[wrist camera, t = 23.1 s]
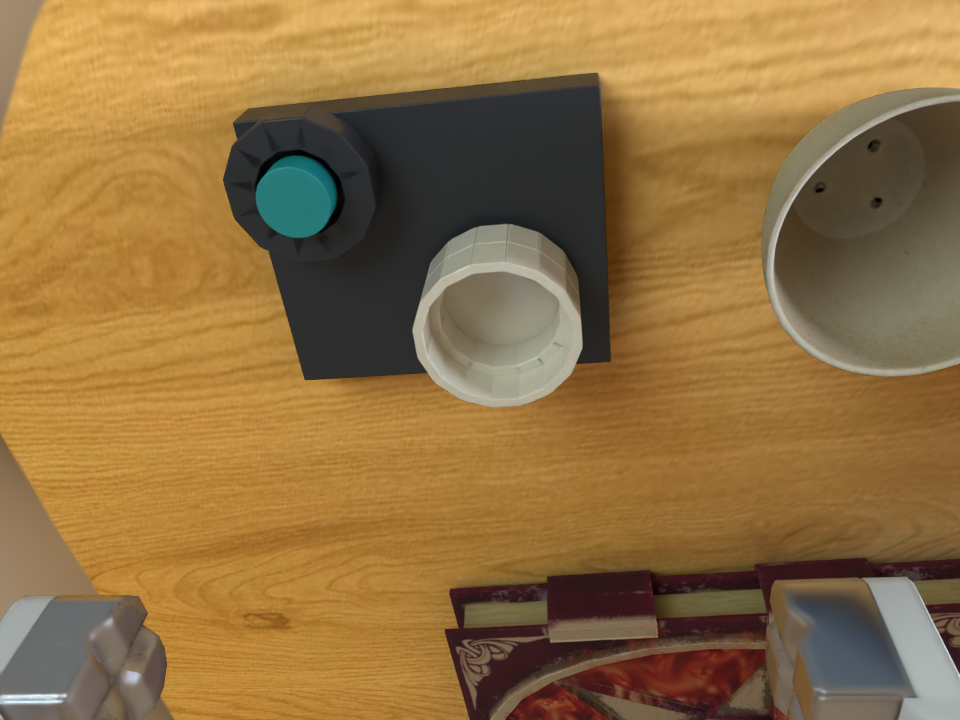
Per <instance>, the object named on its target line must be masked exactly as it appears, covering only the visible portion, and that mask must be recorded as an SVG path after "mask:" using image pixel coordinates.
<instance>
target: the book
mask: <svg viewBox="0 0 960 720" xmlns="http://www.w3.org/2000/svg"><path fill="white" fill-rule="evenodd" d="M754 569H755V571H750V572H733V573H715V574H698V575H681V576H664V577H651V576H650V571H635V572H618V573H602V574H585V575H568V576H551V577H547V583H543V584H526V585H508V586H491V587H474V588H457V589H450V593H449V594H450V597H451V601H452V605H453V608H454V612H455V616H456V619H457V623H458V627H459V629H445V634H446V638H447V641H448V645H449V648H450V652H451V655H452V659H453V662H454V666H455V669H456V673H457V676H458V680H459V683H460V687H461V690H462V694H463V697H464V701H465V704H466V708H467V711H468V715H469V718H470V720H786V719H787V716H786V715H784V714H783V713H782V712H781V711H780V710H779V709H778V708H777V707H776V706H775V705H774V701H773V697H772V693H771V689H770V685H769V679H768V674H767V668H766V652H765V640H766V628H767V626H768V625H769V624H770V623H771V622H772V621H773V620H775V619H774V615H773V612H772V608H771V605H770V595H771V588H772V585H773V583H774V581H775V580H798V579H828V578H859V579H861V578H879V577H907V578H908V579H909V580H910V581H912V582H913V583H914V585H915V587H916V589H917V591H918V593H919V595H920V597H921V599H922V601H923V603H924V605H925V607H926V609H927V611H928V613H929V615H930V617H931V619H932V621H933V623H934V624H935V626H936V628H937V630H938V632H939V634H940V636H941V638H942V640H943V642H944V644H945V646H946V648H947V650H948V652H949V654H950V656H951V658H952V660H953V662H954V664H955V666H956V668H957V670H958V672H959V674H960V559H957V560H939V561H922V562H905V563H888V564H870V565H869V563H868V561H867V559H866V558H855V559H838V560H821V561H804V562H787V563H771V564H756V565H755V566H754Z"/></svg>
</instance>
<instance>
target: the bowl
mask: <svg viewBox="0 0 960 720" xmlns="http://www.w3.org/2000/svg"><path fill="white" fill-rule="evenodd" d="M412 329H413V330H412V332H413V337H414V342H415V348H416V353H417V357H418V359H419V361H420V362H421V364H422V365H423V367H424V368H425V370H426V371H427V372H428V374H429V375H430V377H431V378H432V380H433V381H434V382H435V383H436V384H438V385H439V386H441V387H442V388H444V389H445V390H446V391H448V392H449V393H451V394H452V395H454V396H455V397H457V398H458V399H460V400H463V401H467V402H471V403H475V404H478V405H482V406H486V407H491V408H493V407H511V406H521V405H522V406H523V405H525V404H527V403H530V402H532V401H535V400H537V399H540V398H542V397H545V396H547V395H549V394H551V393H552V392H553V391H554V390H555V389H556V388H557V387H558V386H559V385H560V384H561V383H562V382H564V381H565V380H566V379H567V378H568V377H569V376H570V375H571V374H572V372H573V369H574V367H575V365H576V362H577V360H578V358H579V355H580V353H581V350H582V347H583V343H582V326H581V311H580V297H579V283H578V278H577V274H576V272H575V270H574V269H573V267H572V265H571V263H570V261H569V259H568V258H567V256H566V254H565V253H564V251H563V250H562V249H560V248H559V247H558V246H557V245H555V244H554V243H553V242H551V241H550V240H549V239H548V238H546V237H545V236H544V235H543V234H541V233H539V232H536V231H533V230H529V229H526V228H523V227H519V226H516V225H512V224H501V225H489V226H479V227H478V228H477V227H475V228H473V229H471V230H469V231H467V232H465V233H463V234H461V235H459V236H457V237H455V238H453V239H451V240H450V241H448V242H447V244H446V245H445V246H444V247H443V248H442V249H441V251H440V252H439V253H438V254H437V255H436V256H435V258H434V259H433V260H432V262H431V263H430V266H429V270H428V274H427V277H426V281H425V285H424V288H423V292H422V295H421V299H420V303H419V306H418V310H417V314H416V317H415V321H414V325H413V328H412Z"/></svg>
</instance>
